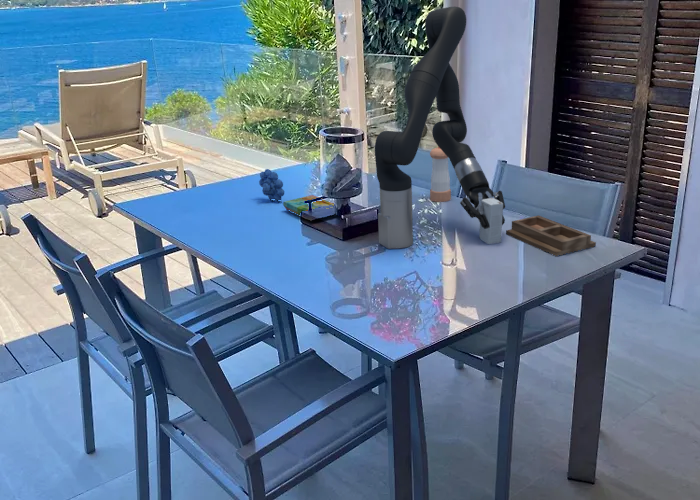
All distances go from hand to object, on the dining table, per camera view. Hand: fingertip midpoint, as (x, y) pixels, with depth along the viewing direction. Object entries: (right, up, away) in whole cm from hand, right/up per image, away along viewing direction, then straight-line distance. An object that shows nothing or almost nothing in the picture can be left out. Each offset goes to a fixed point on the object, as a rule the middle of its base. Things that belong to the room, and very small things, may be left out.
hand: (494, 225), depth 198 cm
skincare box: (0, -4, +4) cm, 6 cm away
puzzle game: (-54, +5, +38) cm, 66 cm away
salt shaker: (-10, +11, +46) cm, 48 cm away
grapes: (-71, +11, +55) cm, 90 cm away
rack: (+16, -4, +1) cm, 17 cm away
